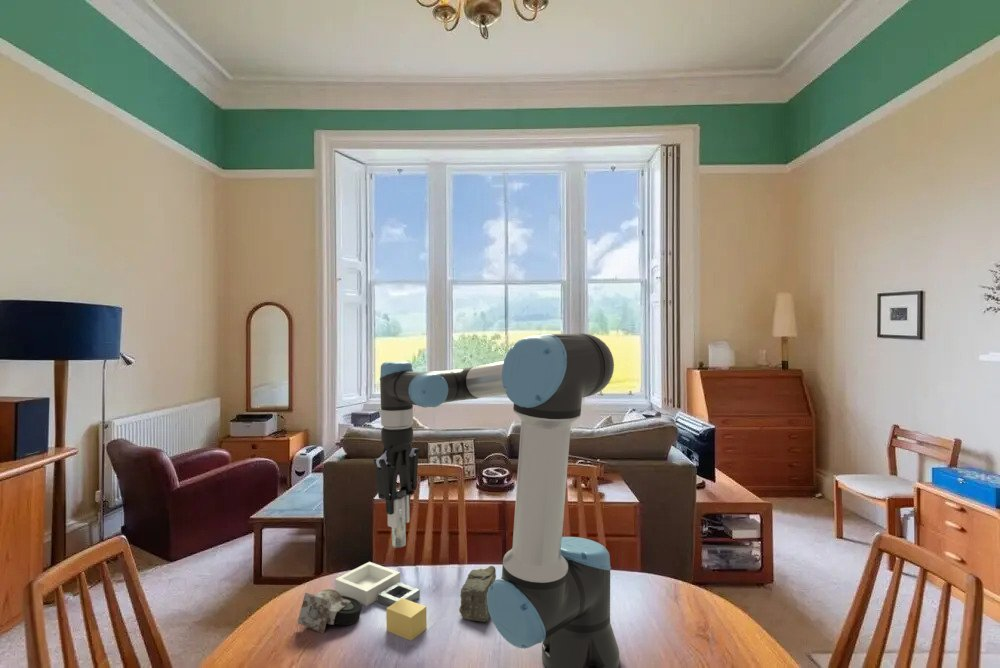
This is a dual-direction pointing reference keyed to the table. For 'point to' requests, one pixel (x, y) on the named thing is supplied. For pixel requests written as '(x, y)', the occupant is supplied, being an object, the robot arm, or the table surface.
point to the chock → (406, 618)
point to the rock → (477, 594)
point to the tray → (366, 582)
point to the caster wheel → (328, 610)
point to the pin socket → (398, 588)
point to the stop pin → (400, 520)
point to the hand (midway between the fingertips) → (398, 523)
